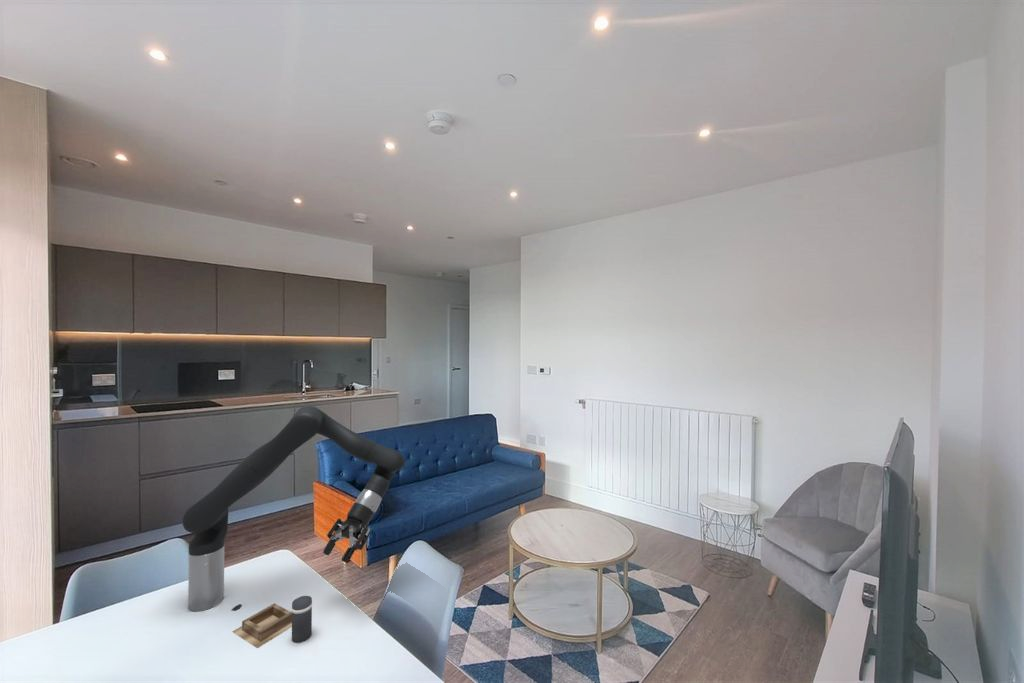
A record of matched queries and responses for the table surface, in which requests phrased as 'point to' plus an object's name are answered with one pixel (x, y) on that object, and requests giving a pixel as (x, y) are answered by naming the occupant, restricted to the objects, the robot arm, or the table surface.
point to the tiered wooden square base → (265, 625)
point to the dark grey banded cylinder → (301, 619)
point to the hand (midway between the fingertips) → (334, 557)
